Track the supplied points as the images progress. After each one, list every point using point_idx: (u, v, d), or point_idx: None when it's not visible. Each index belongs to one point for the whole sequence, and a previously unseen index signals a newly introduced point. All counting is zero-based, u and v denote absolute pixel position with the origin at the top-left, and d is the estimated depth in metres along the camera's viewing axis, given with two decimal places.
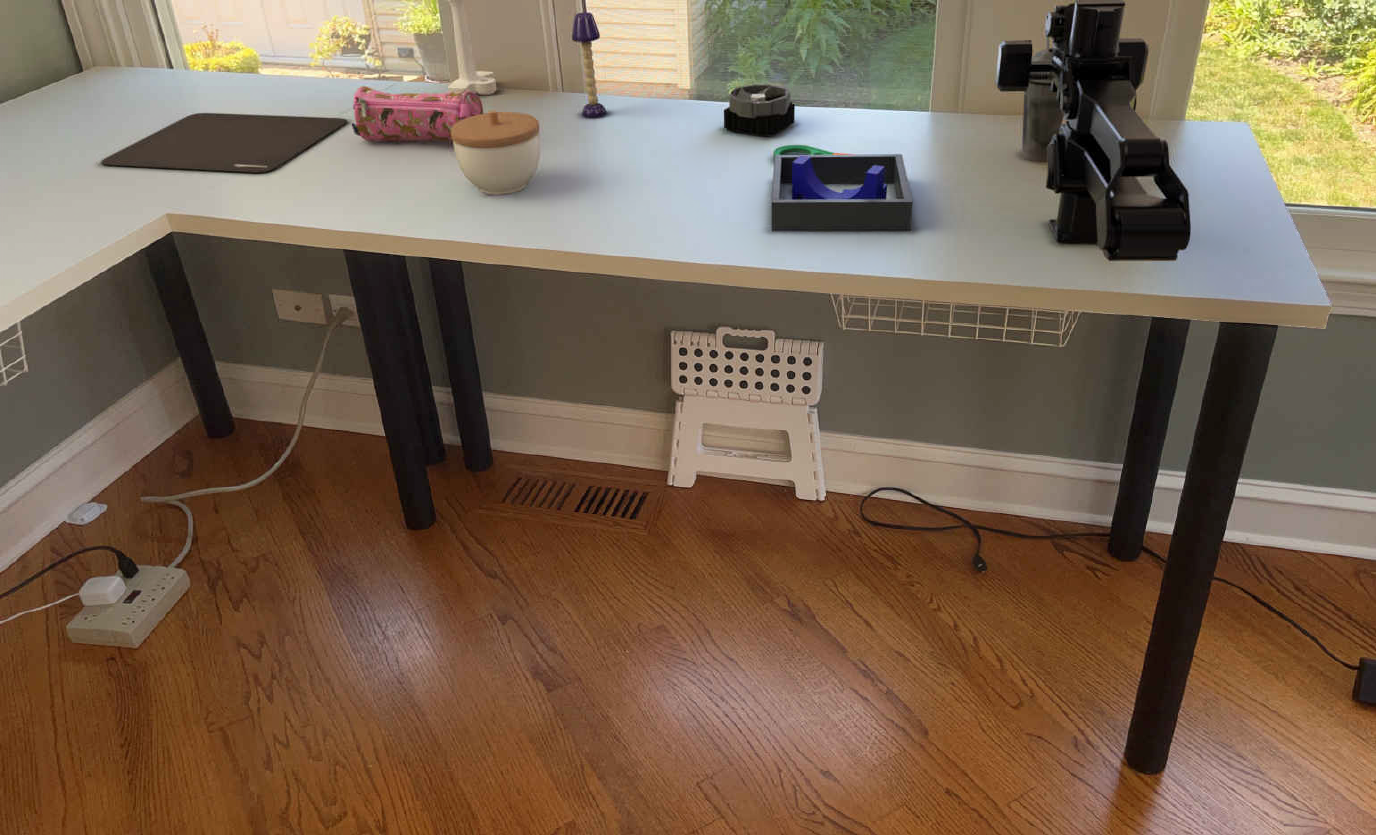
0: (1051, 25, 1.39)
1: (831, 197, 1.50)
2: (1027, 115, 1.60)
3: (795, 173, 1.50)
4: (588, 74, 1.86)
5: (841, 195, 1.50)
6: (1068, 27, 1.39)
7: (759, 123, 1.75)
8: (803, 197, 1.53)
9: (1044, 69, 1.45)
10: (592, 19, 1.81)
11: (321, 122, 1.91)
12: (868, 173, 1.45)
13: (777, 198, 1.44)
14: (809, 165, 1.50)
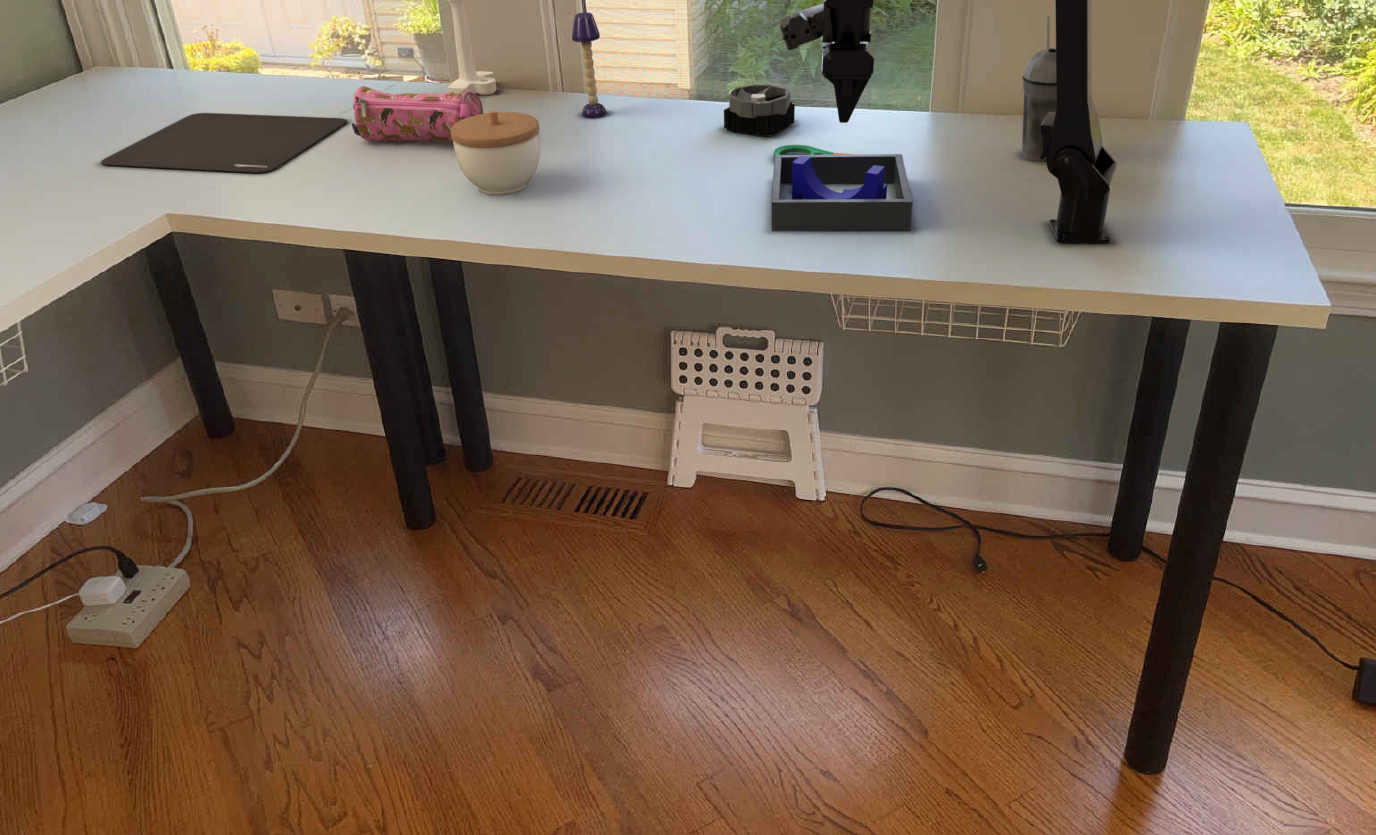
0: (797, 16, 1.35)
1: (831, 197, 1.50)
2: (1027, 115, 1.60)
3: (795, 173, 1.50)
4: (588, 74, 1.86)
5: (841, 195, 1.50)
6: None
7: (759, 123, 1.75)
8: (803, 197, 1.53)
9: (849, 44, 1.37)
10: (592, 19, 1.81)
11: (321, 122, 1.91)
12: (868, 173, 1.45)
13: (777, 198, 1.44)
14: (809, 165, 1.50)
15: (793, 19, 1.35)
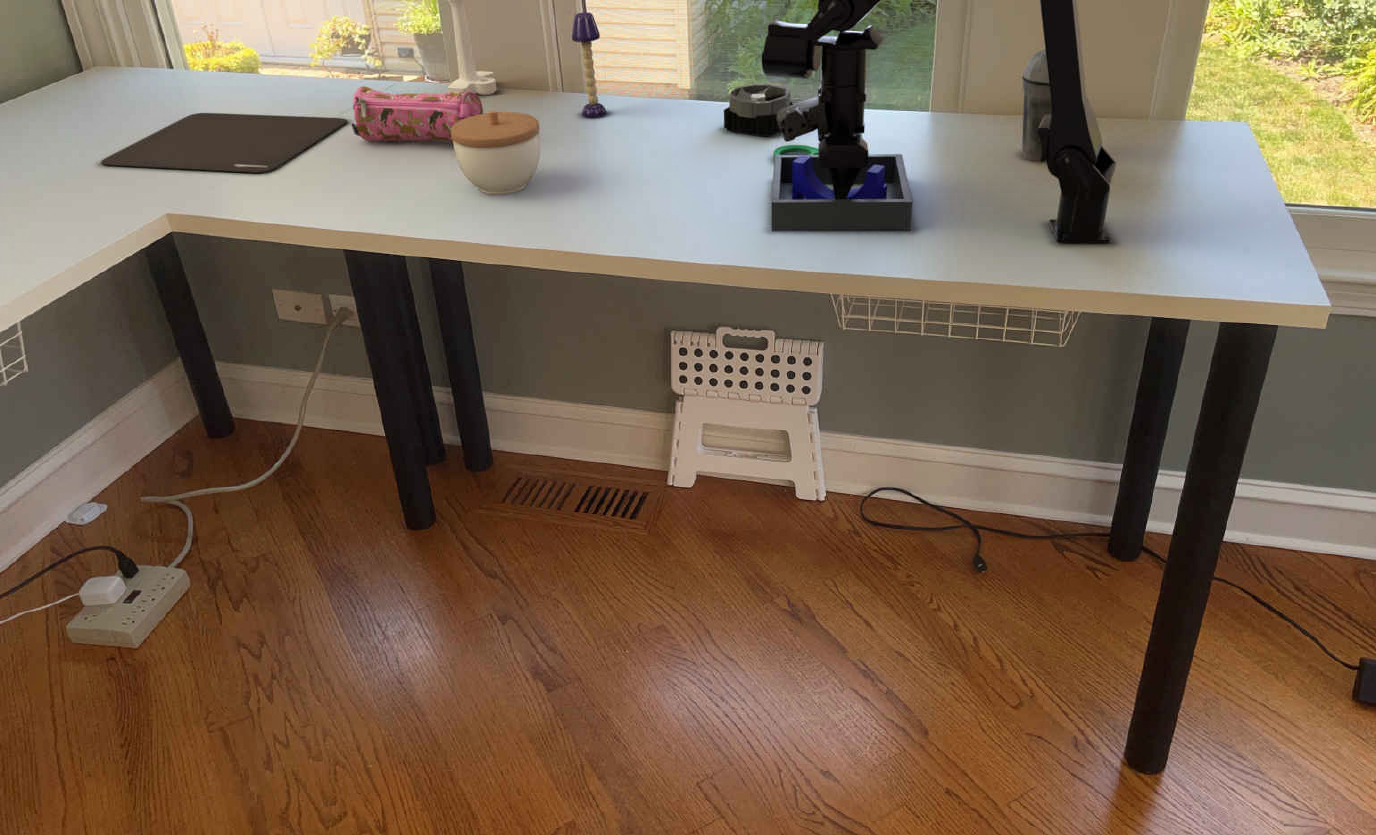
0: (793, 111, 1.41)
1: (831, 196, 1.50)
2: (1027, 115, 1.60)
3: (795, 172, 1.50)
4: (588, 74, 1.86)
5: None
6: None
7: (759, 123, 1.75)
8: (803, 197, 1.53)
9: (843, 136, 1.42)
10: (592, 19, 1.81)
11: (321, 122, 1.91)
12: (868, 172, 1.45)
13: (777, 198, 1.44)
14: (810, 164, 1.51)
15: (789, 114, 1.41)
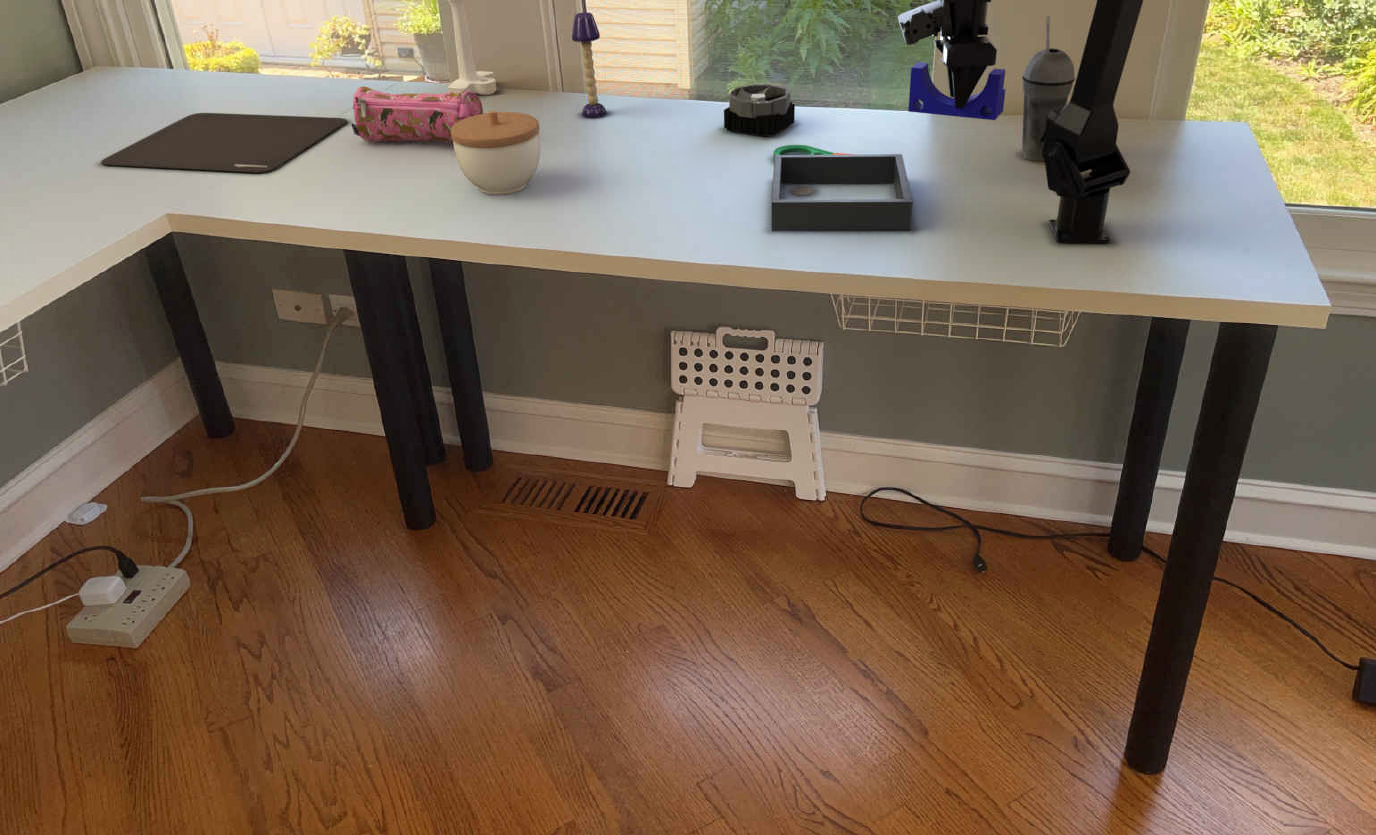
0: (919, 12, 1.41)
1: (949, 102, 1.50)
2: (1027, 115, 1.60)
3: (913, 78, 1.50)
4: (588, 74, 1.86)
5: None
6: None
7: (759, 123, 1.75)
8: (918, 105, 1.54)
9: None
10: (592, 19, 1.81)
11: (321, 122, 1.91)
12: (990, 74, 1.45)
13: (777, 198, 1.44)
14: (927, 71, 1.51)
15: (915, 15, 1.41)
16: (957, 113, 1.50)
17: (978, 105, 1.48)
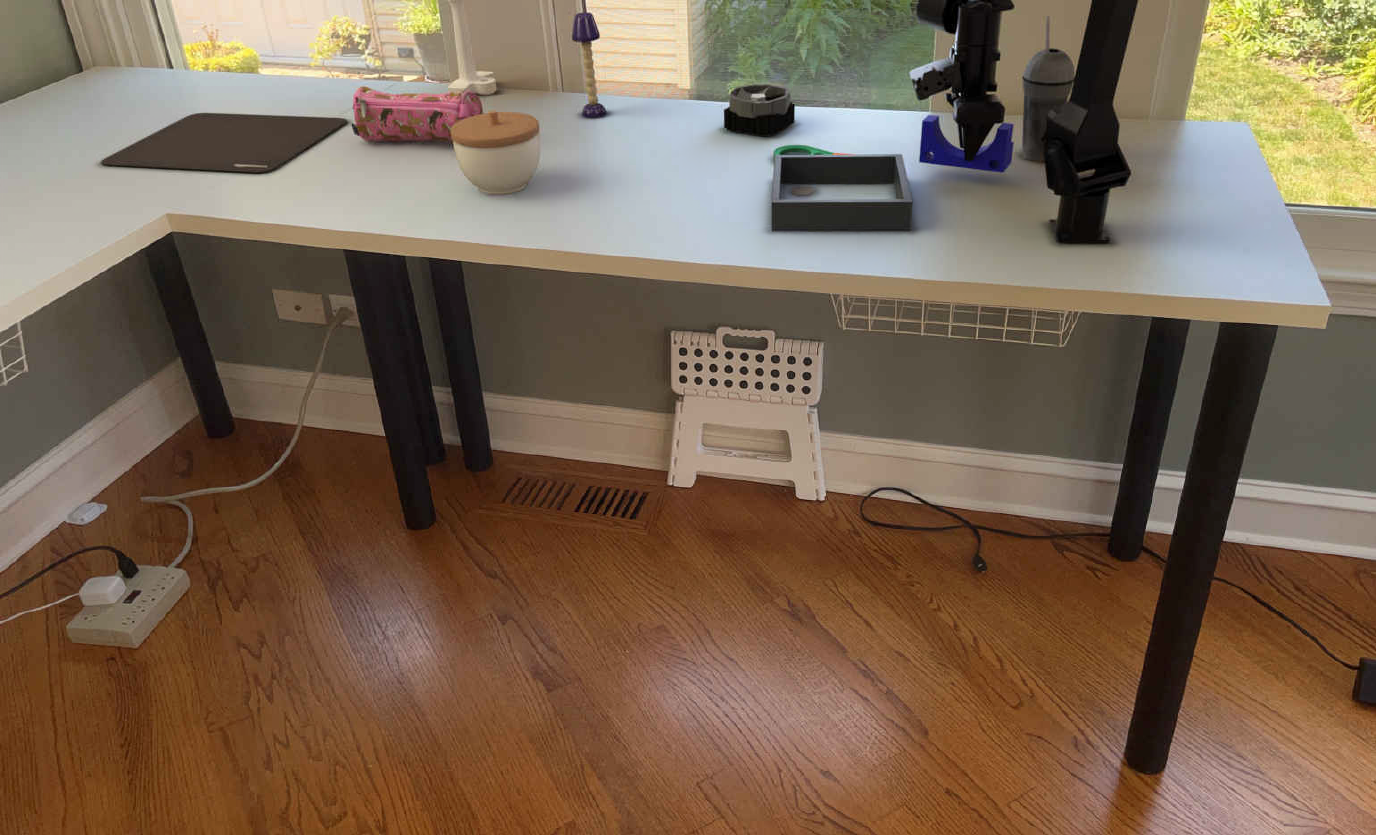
0: (930, 70, 1.46)
1: (959, 154, 1.55)
2: (1027, 115, 1.60)
3: (924, 131, 1.55)
4: (588, 74, 1.86)
5: None
6: None
7: (759, 123, 1.75)
8: (929, 155, 1.59)
9: None
10: (592, 19, 1.81)
11: (321, 122, 1.91)
12: (999, 129, 1.50)
13: (777, 198, 1.44)
14: (937, 124, 1.56)
15: (926, 73, 1.46)
16: (966, 165, 1.55)
17: (986, 158, 1.53)
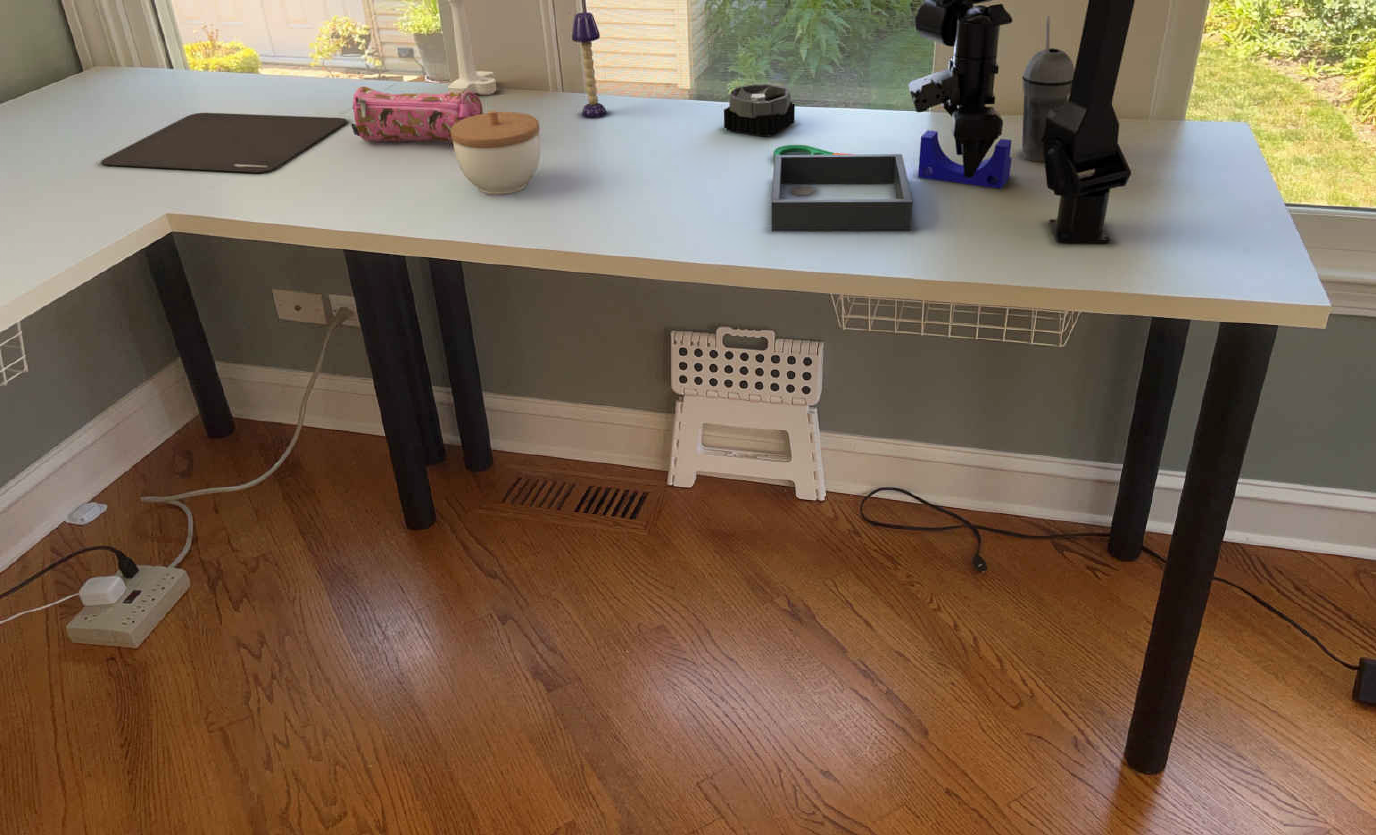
0: (929, 83, 1.47)
1: (958, 169, 1.57)
2: (1027, 115, 1.60)
3: (923, 147, 1.56)
4: (588, 74, 1.86)
5: None
6: None
7: (759, 123, 1.75)
8: (928, 170, 1.60)
9: (975, 107, 1.49)
10: (592, 19, 1.81)
11: (321, 122, 1.91)
12: (997, 146, 1.51)
13: (777, 198, 1.44)
14: (936, 139, 1.57)
15: (925, 85, 1.47)
16: (965, 180, 1.56)
17: (985, 174, 1.54)
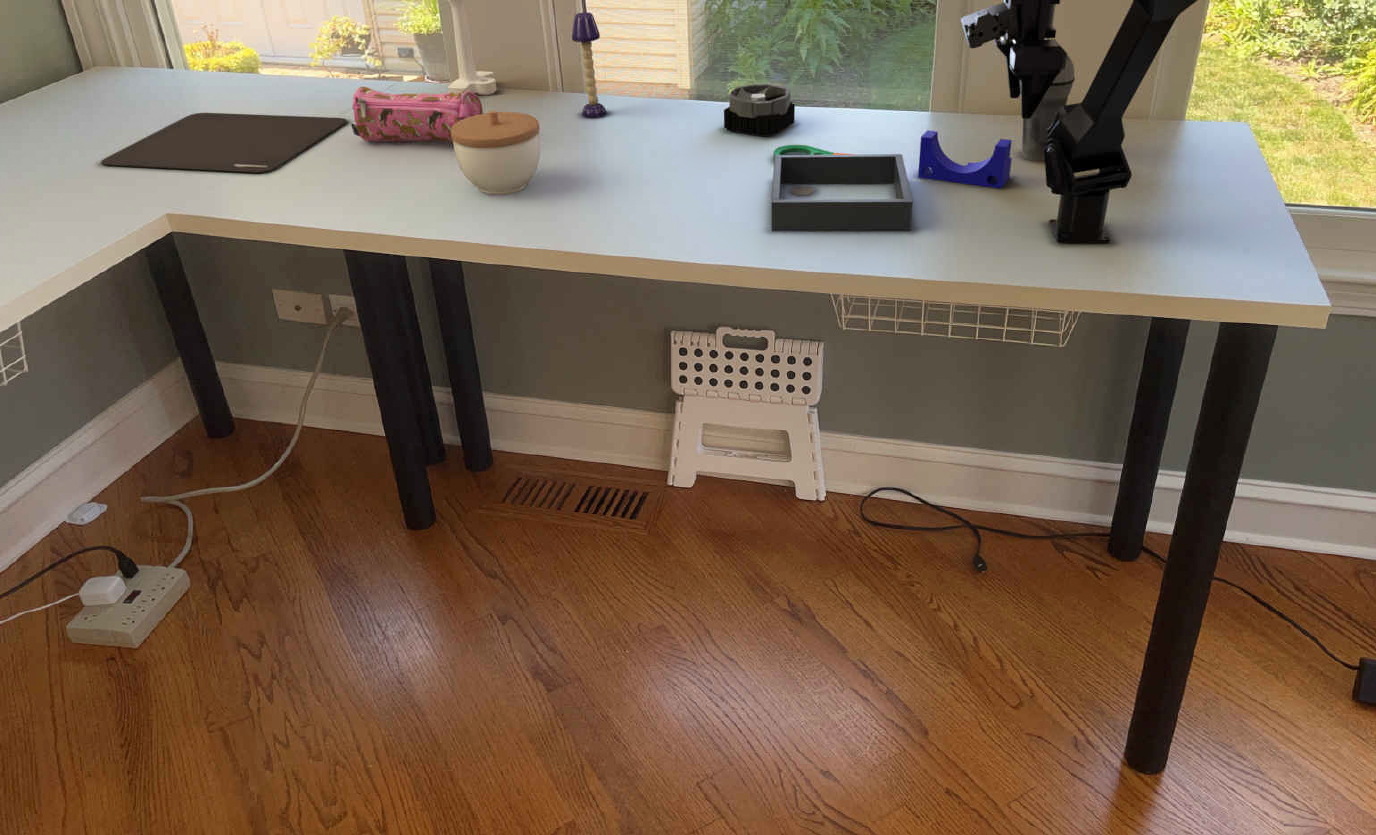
0: (986, 14, 1.36)
1: (958, 169, 1.57)
2: None
3: (923, 147, 1.56)
4: (588, 74, 1.86)
5: (967, 168, 1.57)
6: None
7: (759, 123, 1.75)
8: (928, 170, 1.60)
9: None
10: (592, 19, 1.81)
11: (321, 122, 1.91)
12: (997, 146, 1.51)
13: (777, 198, 1.44)
14: (936, 139, 1.57)
15: (981, 17, 1.37)
16: (965, 180, 1.56)
17: (985, 174, 1.54)
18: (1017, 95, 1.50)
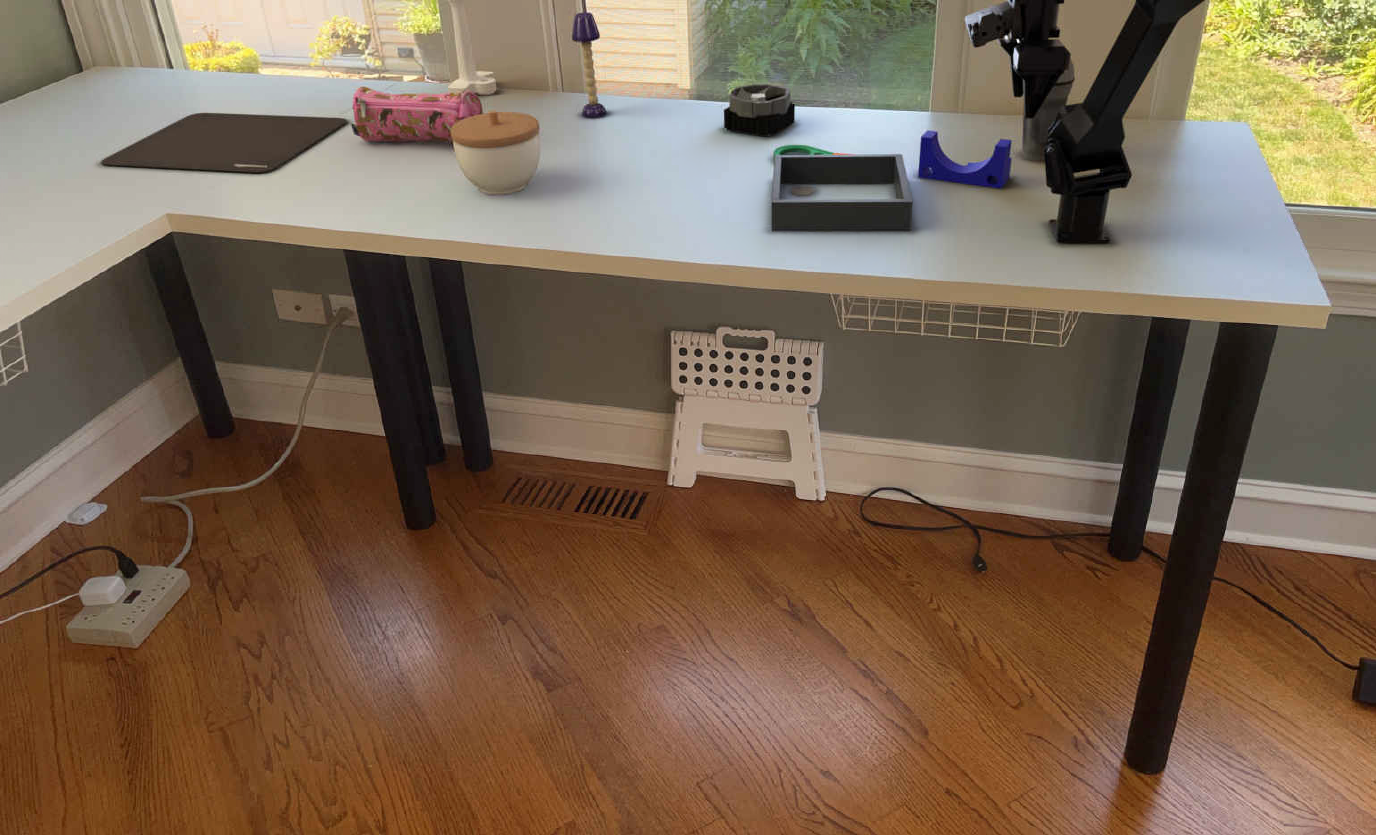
0: (989, 13, 1.36)
1: (958, 169, 1.57)
2: None
3: (923, 147, 1.56)
4: (588, 74, 1.86)
5: (967, 168, 1.57)
6: None
7: (759, 123, 1.75)
8: (928, 170, 1.60)
9: None
10: (592, 19, 1.81)
11: (321, 122, 1.91)
12: (997, 146, 1.51)
13: (777, 198, 1.44)
14: (936, 139, 1.57)
15: (985, 16, 1.36)
16: (965, 180, 1.56)
17: (985, 174, 1.54)
18: (1020, 94, 1.49)
